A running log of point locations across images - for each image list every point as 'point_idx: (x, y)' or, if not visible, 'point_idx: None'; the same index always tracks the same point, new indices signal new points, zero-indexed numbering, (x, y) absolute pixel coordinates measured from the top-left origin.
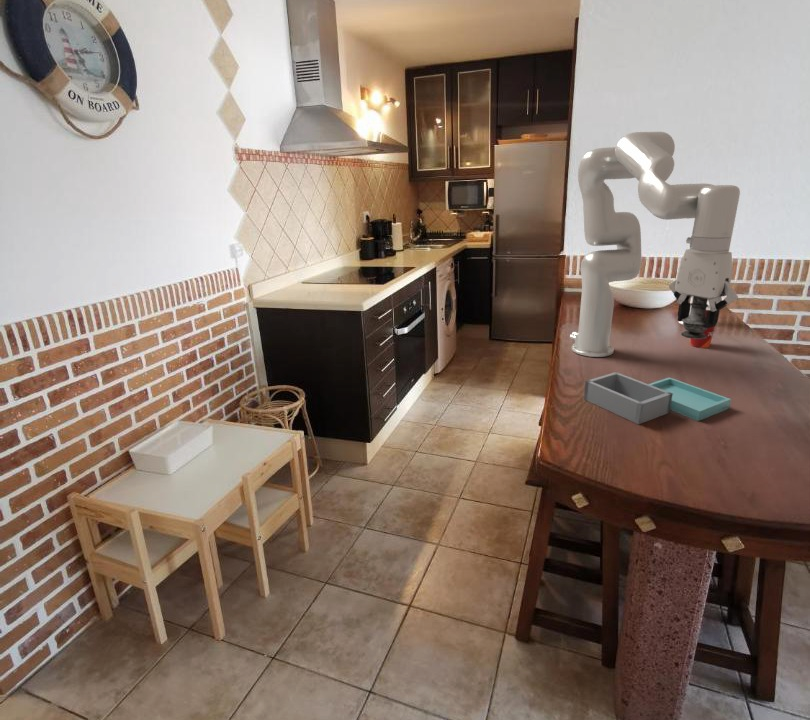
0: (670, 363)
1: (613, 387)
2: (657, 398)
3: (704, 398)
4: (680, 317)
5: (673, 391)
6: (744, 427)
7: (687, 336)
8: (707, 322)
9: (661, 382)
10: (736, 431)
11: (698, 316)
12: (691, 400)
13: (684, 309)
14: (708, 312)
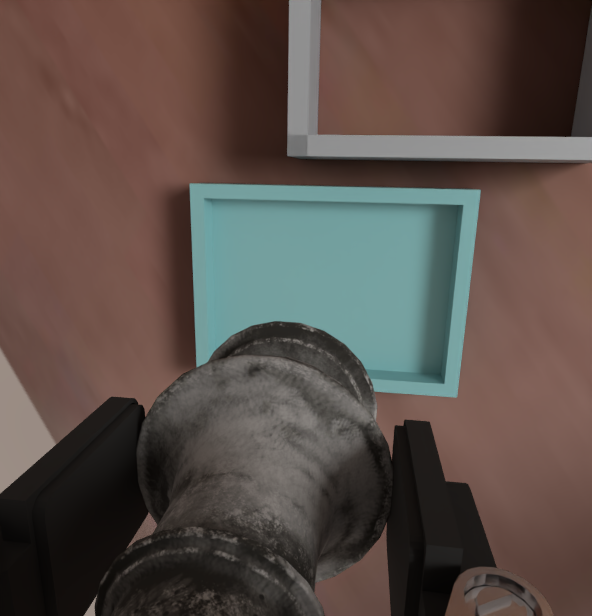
0: (573, 590)
1: (581, 132)
2: (291, 38)
3: None
4: (405, 442)
5: (387, 321)
6: (104, 269)
7: (285, 332)
8: (89, 418)
9: (449, 327)
10: (98, 220)
11: (193, 468)
12: (298, 298)
13: (402, 542)
14: (27, 487)
